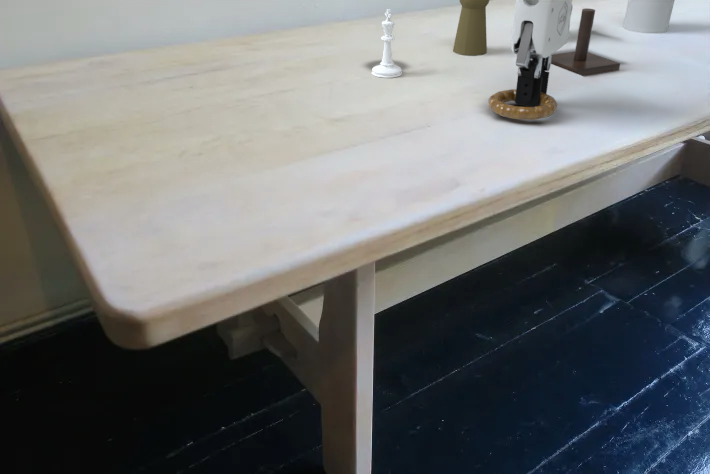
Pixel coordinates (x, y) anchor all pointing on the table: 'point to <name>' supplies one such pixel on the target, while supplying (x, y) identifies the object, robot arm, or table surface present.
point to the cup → (648, 16)
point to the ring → (523, 113)
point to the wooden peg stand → (584, 52)
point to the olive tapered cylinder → (471, 28)
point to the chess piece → (387, 52)
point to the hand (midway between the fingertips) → (530, 101)
